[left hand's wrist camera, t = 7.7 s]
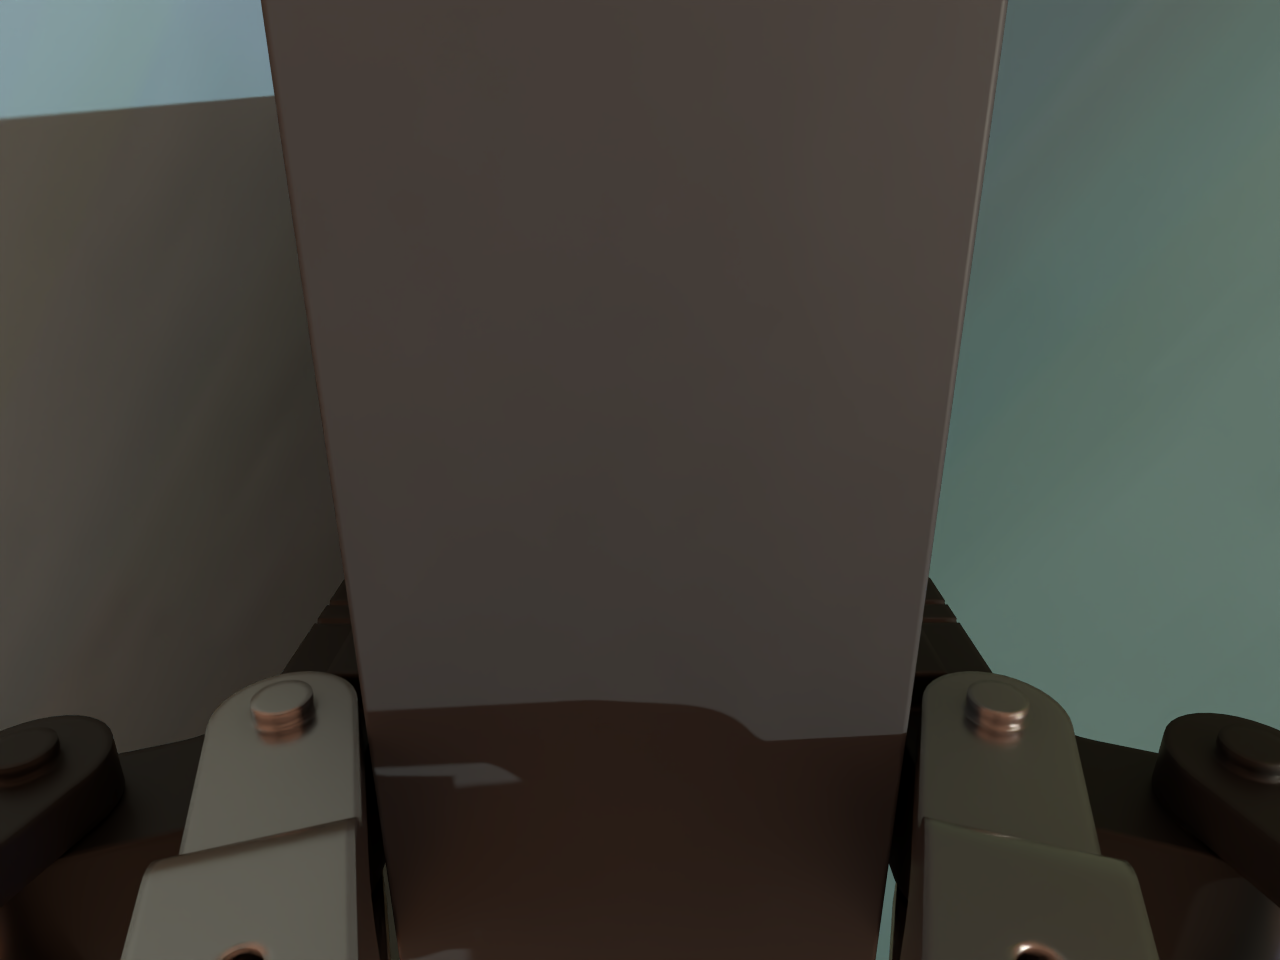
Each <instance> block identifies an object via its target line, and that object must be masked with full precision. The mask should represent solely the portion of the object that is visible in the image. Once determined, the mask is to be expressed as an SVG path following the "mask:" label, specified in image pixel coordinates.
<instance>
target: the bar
mask: <svg viewBox="0 0 1280 960" xmlns="http://www.w3.org/2000/svg"><path fill="white" fill-rule="evenodd" d="M261 5H262V12H263V19H264V26H265V32H266V39H267V46H268V53H269V60H270V67H271V74H272V81H273V88H274V95H275V101H276V108H277V115H278V122H279V129H280V136H281V143H282V150H283V157H284V164H285V170H286V177H287V184H288V191H289V198H290V205H291V212H292V219H293V226H294V233H295V239H296V246H297V253H298V260H299V267H300V274H301V281H302V288H303V295H304V302H305V309H306V315H307V322H308V329H309V336H310V343H311V350H312V357H313V364H314V371H315V378H316V384H317V391H318V398H319V405H320V412H321V419H322V426H323V433H324V440H325V447H326V453H327V460H328V467H329V474H330V481H331V488H332V495H333V502H334V509H335V516H336V522H337V529H338V536H339V543H340V550H341V557H342V564H343V571H344V578H345V585H346V591H347V598H348V605H349V612H350V619H351V626H352V633H353V640H354V647H355V654H356V660H357V667H358V674H359V681H360V688H361V695H362V702H363V709H364V716H365V723H366V729H367V736H368V743H369V750H370V757H371V764H372V771H373V778H374V785H375V792H376V798H377V805H378V812H379V819H380V826H381V833H382V840H383V847H384V854H385V861H386V867H387V874H388V881H389V888H390V895H391V902H392V909H393V916H394V923H395V930H396V936H397V943H398V950H399V957H400V960H875V959H876V952H877V944H878V937H879V930H880V923H881V915H882V908H883V901H884V894H885V887H886V879H887V872H888V865H889V858H890V850H891V843H892V836H893V829H894V822H895V814H896V807H897V800H898V793H899V785H900V778H901V771H902V764H903V756H904V749H905V742H906V735H907V728H908V720H909V713H910V706H911V699H912V691H913V684H914V677H915V670H916V663H917V655H918V648H919V641H920V634H921V626H922V619H923V612H924V605H925V597H926V590H927V583H928V576H929V569H930V561H931V554H932V547H933V540H934V532H935V525H936V518H937V511H938V504H939V496H940V489H941V482H942V475H943V467H944V460H945V453H946V446H947V439H948V431H949V424H950V417H951V410H952V402H953V395H954V388H955V381H956V373H957V366H958V359H959V352H960V345H961V337H962V330H963V323H964V316H965V308H966V301H967V294H968V287H969V280H970V272H971V265H972V258H973V251H974V243H975V236H976V229H977V222H978V214H979V207H980V200H981V193H982V186H983V178H984V171H985V164H986V157H987V149H988V142H989V135H990V128H991V121H992V113H993V106H994V99H995V92H996V84H997V77H998V70H999V63H1000V56H1001V48H1002V41H1003V34H1004V27H1005V19H1006V12H1007V5H1008V0H261Z"/></svg>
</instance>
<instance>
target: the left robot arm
mask: <svg viewBox="0 0 1280 960" xmlns="http://www.w3.org/2000/svg"><path fill="white" fill-rule="evenodd" d="M385 862H386V861H385V854H384V847H383V840H382V833H381V826H380V819H379V812H378V805H377V798H376V792H375V785H374V778H373V771H372V764H371V757H370V750H369V743H368V736H367V729H366V723H365V716H364V709H363V702H362V695H361V688H360V681H359V674H358V667H357V660H356V654H355V647H354V640H353V633H352V626H351V619H350V612H349V605H348V598H347V591H346V585H345V579H344V581H343V582H342V584H341V585H340V587H339V588H338V590H337V591H336V593H335V594H334V596H333V597H332V599H331V600H330V605H327V606H326V608H325V609H324V611H323V612H322V614H321V615H320V617H319V618H318V624H314V626H313V627H312V629H311V630H310V632H309V633H308V634H307V636H306V637H305V639H304V640H303V642H302V643H301V645H300V646H299V648H298V649H297V651H296V652H295V654H294V655H293V657H292V658H291V660H290V661H289V663H288V664H287V666H286V667H285V669H284V670H283V672H282V673H281V675H276V676H273V677H269V678H266V679H263V680H260V681H258V682H255V683H253V684H251V685H249V686H247V687H245V688H243V689H241V690H239V691H237V692H236V693H234V694H233V695H231V696H230V697H229V698H227V699H226V700H225V701H224V702H222V703H221V704H220V705H219V707H218V708H217V709H216V710H215V711H214V713H213V714H212V716H211V717H210V720H209V722H208V725H207V729H206V734H204V735H201V736H198V737H195V738H192V739H188V740H183V741H179V742H175V743H170V744H165V745H160V746H155V747H150V748H145V749H140V750H135V751H130V752H125V753H120V754H118V753H117V749H116V746H115V742H114V738H113V735H112V732H111V730H110V728H109V727H108V726H107V725H106V724H105V723H103V722H102V721H100V720H98V719H95V718H91V717H87V716H79V715H65V716H54V717H48V718H42V719H37V720H33V721H30V722H26V723H22V724H19V725H16V726H13V727H10V728H8V729H5V730H3V731H0V960H391V953H390V938H389V922H388V907H387V898H386V891H385V884H384V877H383V867H384V865H385ZM889 865H890V868H891V870H892V873H893V876H894V879H895V881H896V884H895V891H894V898H893V907H892V922H891V937H890V953H889V960H1280V731H1279V730H1277V729H1275V728H1272V727H1270V726H1267V725H1264V724H1261V723H1258V722H1255V721H1252V720H1248V719H1244V718H1241V717H1236V716H1231V715H1225V714H1216V713H1195V714H1187V715H1184V716H1181V717H1178V718H1176V719H1174V720H1173V721H1171V722H1170V723H1169V724H1168V725H1167V726H1166V729H1165V732H1164V735H1163V738H1162V742H1161V746H1160V749H1159V753H1154V752H1149V751H1144V750H1139V749H1134V748H1129V747H1125V746H1120V745H1115V744H1110V743H1105V742H1100V741H1095V740H1091V739H1087V738H1082V737H1079V736H1076V735H1075V734H1074V729H1073V725H1072V722H1071V720H1070V717H1069V716H1068V714H1067V713H1066V711H1065V710H1064V709H1063V708H1062V707H1061V706H1060V704H1059V703H1058V702H1056V701H1055V700H1054V699H1053V698H1051V697H1050V696H1049V695H1047V694H1046V693H1044V692H1043V691H1041V690H1039V689H1037V688H1035V687H1033V686H1031V685H1029V684H1027V683H1025V682H1022V681H1020V680H1017V679H1014V678H1011V677H1007V676H1004V675H999V674H994V673H992V671H991V670H990V668H989V667H988V665H987V664H986V662H985V661H984V659H983V658H982V656H981V655H980V653H979V652H978V650H977V649H976V647H975V646H974V644H973V643H972V641H971V639H970V638H969V636H968V635H967V633H966V632H965V630H964V629H963V627H962V626H961V624H960V623H957V622H956V617H955V615H954V614H953V612H952V611H951V609H950V608H949V606H948V605H947V604H945V600H944V598H943V597H942V595H941V594H940V592H939V591H938V589H937V588H936V586H935V585H934V583H933V582H932V580H931V579H930V578H929V577H928V583H927V590H926V597H925V605H924V612H923V619H922V626H921V634H920V641H919V648H918V655H917V663H916V670H915V677H914V684H913V691H912V699H911V706H910V713H909V720H908V728H907V735H906V742H905V749H904V756H903V764H902V771H901V778H900V785H899V793H898V800H897V807H896V814H895V822H894V829H893V836H892V843H891V850H890V858H889Z"/></svg>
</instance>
